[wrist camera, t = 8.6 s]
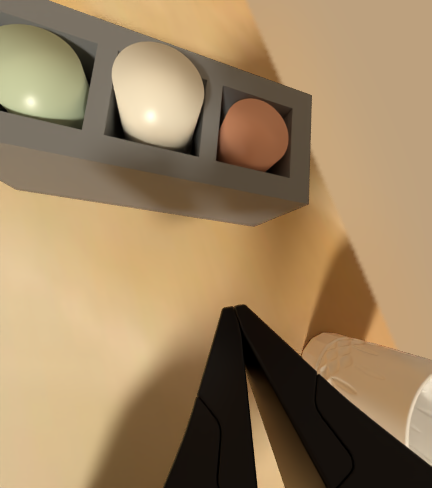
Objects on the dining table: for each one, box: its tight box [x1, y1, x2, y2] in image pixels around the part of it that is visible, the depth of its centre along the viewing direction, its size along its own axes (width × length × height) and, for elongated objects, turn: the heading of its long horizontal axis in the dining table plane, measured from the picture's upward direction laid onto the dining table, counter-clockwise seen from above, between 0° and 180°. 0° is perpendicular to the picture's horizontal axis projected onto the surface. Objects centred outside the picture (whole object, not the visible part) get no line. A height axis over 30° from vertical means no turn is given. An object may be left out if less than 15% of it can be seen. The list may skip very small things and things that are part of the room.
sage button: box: [0, 24, 90, 130], centre depth 13 cm, size 4×4×4 cm
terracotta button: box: [216, 98, 289, 172], centre depth 16 cm, size 4×4×4 cm
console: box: [0, 0, 312, 226], centre depth 16 cm, size 8×20×8 cm, turn 84°
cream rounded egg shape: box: [112, 41, 204, 154], centre depth 13 cm, size 4×4×4 cm
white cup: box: [302, 332, 432, 466], centre depth 18 cm, size 8×8×10 cm
